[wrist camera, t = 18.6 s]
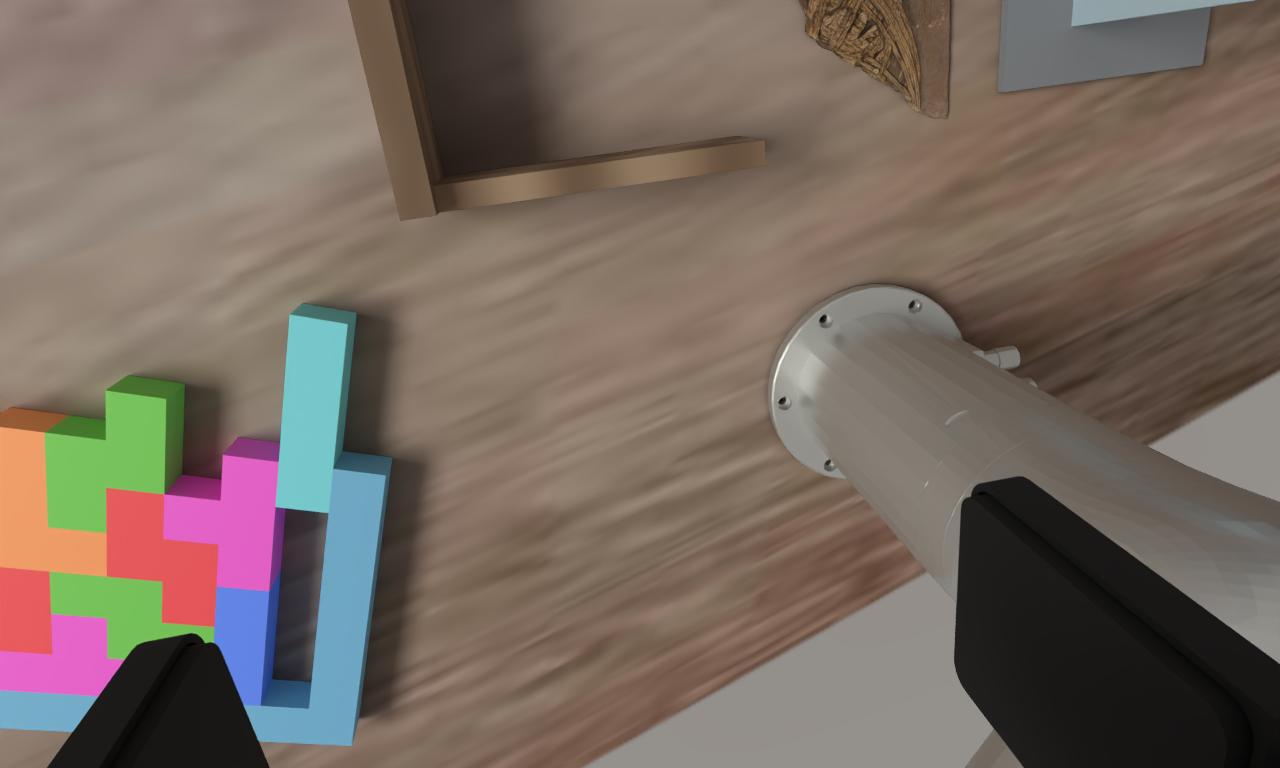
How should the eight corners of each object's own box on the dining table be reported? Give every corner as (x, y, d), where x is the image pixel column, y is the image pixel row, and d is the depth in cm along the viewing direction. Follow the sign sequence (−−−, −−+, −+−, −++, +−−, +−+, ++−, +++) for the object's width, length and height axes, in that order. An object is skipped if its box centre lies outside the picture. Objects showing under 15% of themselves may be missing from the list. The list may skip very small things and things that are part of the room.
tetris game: (360, 712, 50) (411, 319, 41) (351, 746, 47) (403, 333, 39) (-130, 683, 44) (-193, 216, 35) (-171, 719, 41) (-249, 225, 33)
